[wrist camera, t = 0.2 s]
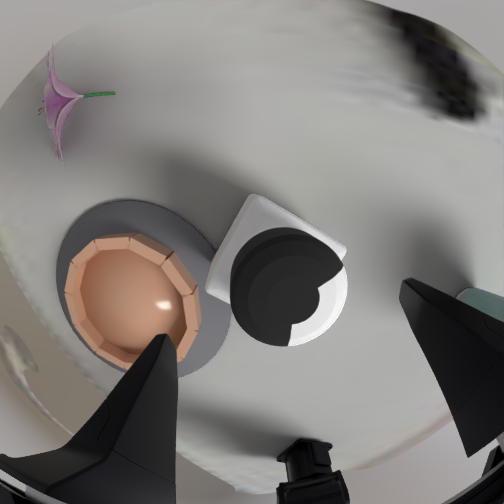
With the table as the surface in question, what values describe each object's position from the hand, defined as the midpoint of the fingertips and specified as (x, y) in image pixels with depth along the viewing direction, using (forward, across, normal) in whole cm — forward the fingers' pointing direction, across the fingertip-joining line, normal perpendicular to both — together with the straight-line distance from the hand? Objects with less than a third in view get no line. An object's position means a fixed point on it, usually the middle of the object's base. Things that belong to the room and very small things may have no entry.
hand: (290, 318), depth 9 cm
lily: (+20, +15, -12) cm, 27 cm away
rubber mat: (+14, +14, +8) cm, 21 cm away
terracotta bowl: (+13, +14, +8) cm, 21 cm away
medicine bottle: (+14, 0, +5) cm, 15 cm away
